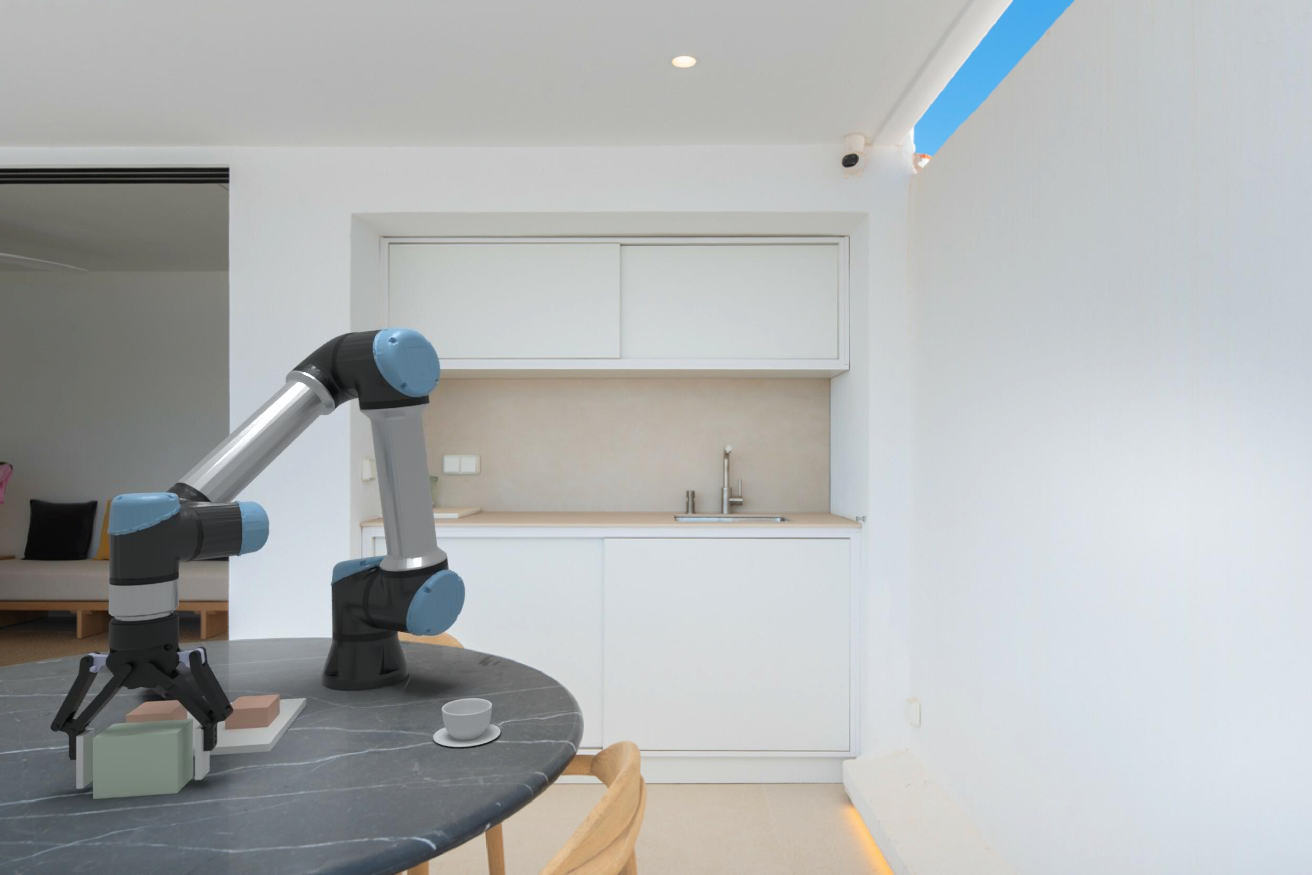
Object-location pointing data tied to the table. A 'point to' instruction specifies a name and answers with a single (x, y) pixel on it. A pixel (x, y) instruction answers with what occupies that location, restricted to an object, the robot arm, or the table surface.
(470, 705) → the teacup
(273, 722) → the slot base
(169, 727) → the key block
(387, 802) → the table surface
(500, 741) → the table surface
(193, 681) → the glasses case
